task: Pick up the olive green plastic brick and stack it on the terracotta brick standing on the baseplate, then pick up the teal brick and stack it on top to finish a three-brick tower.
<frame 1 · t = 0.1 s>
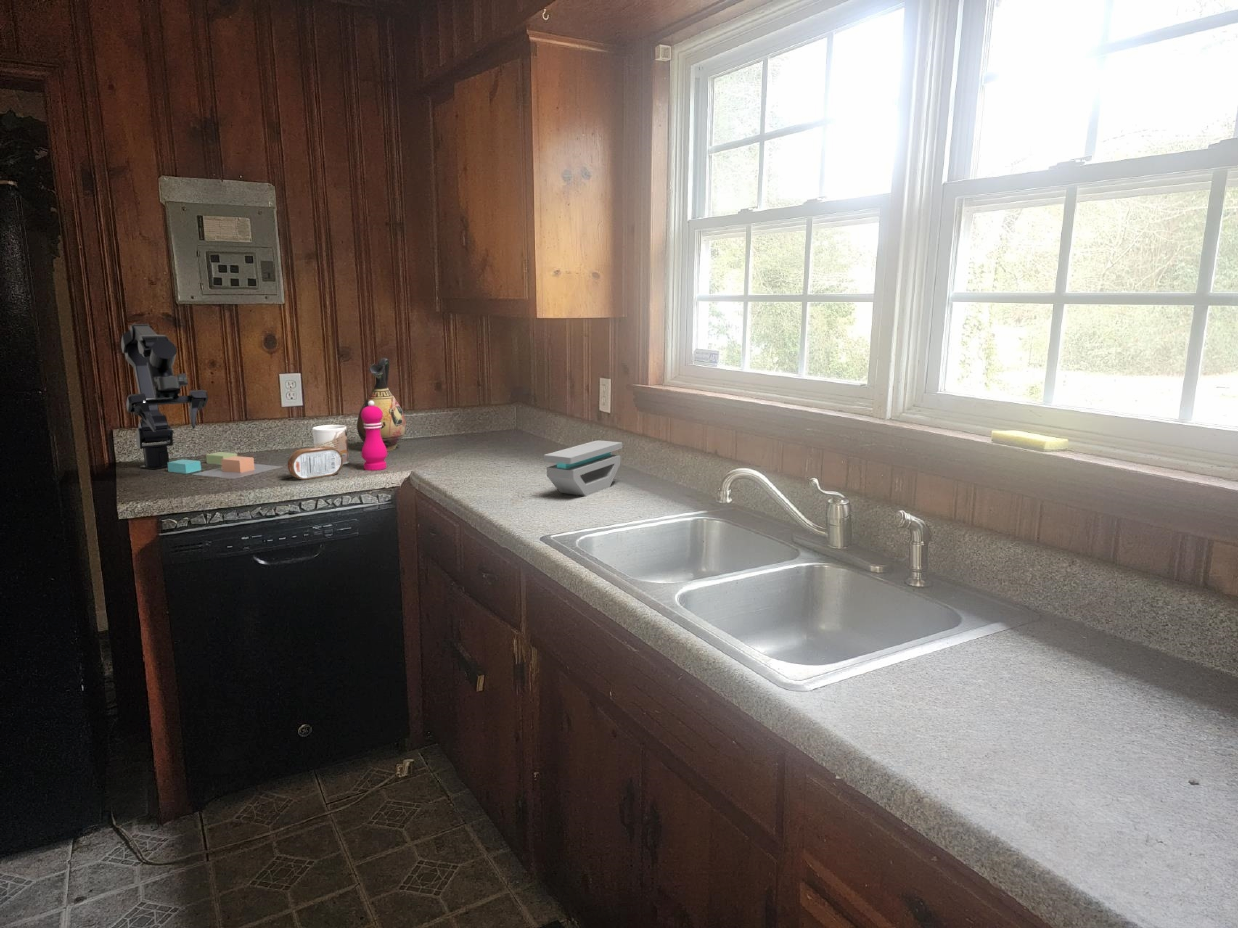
hand: (174, 429, 213), 15 cm above the worktop, tool tilted 35°, fingers open, 9 cm apart
tin: (317, 478, 224), on the worktop
pepper mill: (375, 469, 236), on the worktop
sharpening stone: (585, 490, 208), on the worktop
baseplate: (238, 472, 231), on the worktop
mug: (333, 463, 246), on the worktop
teal brick: (185, 473, 231), on the worktop
olive brick: (222, 465, 243), on the worktop
terracotta brick: (238, 470, 231), point 1 cm above the worktop, touching baseplate
ceramic jug: (383, 449, 269), on the worktop
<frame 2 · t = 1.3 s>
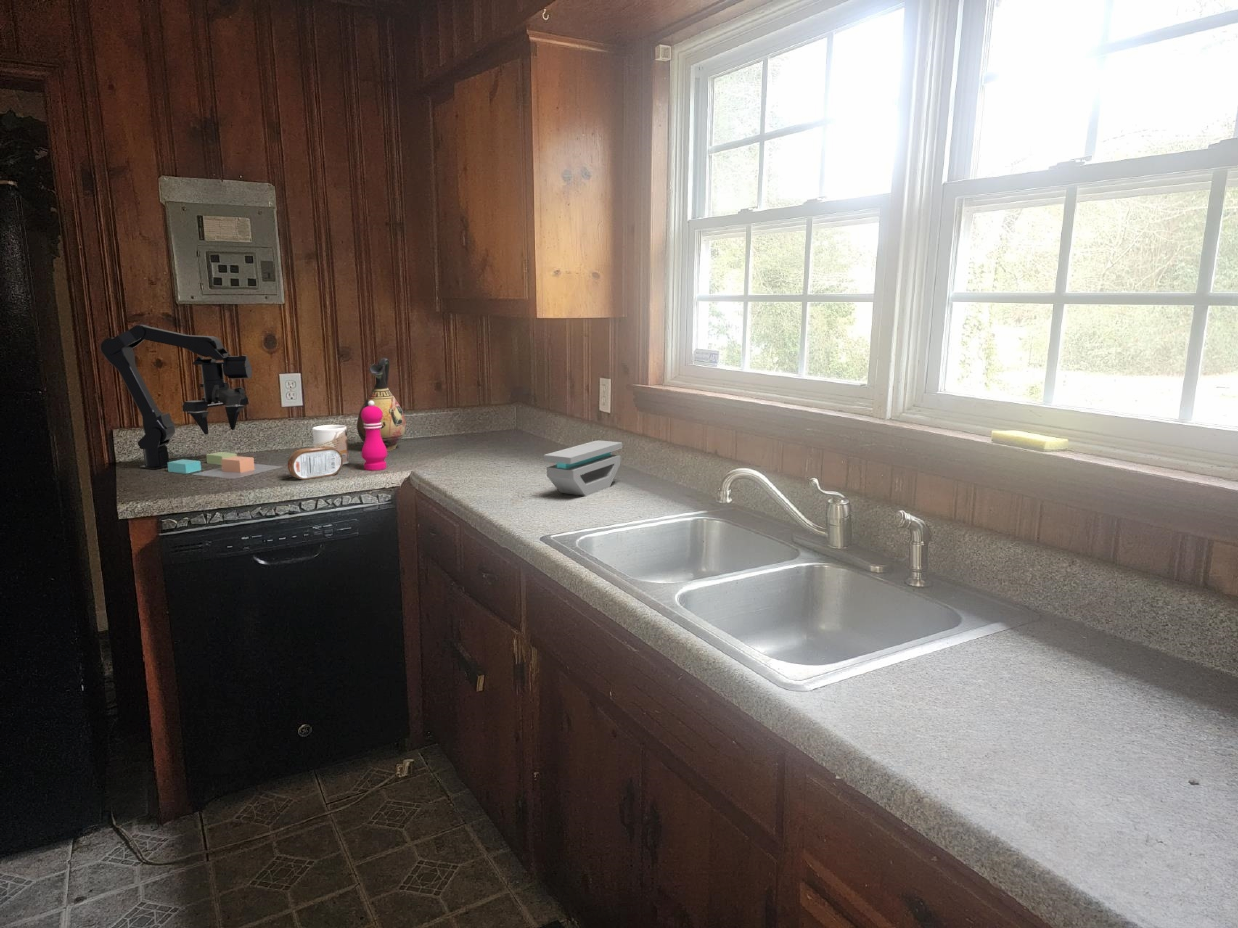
hand: (219, 432, 240), 10 cm above the worktop, tool pointing down, fingers open, 9 cm apart
nothing on the worktop moved.
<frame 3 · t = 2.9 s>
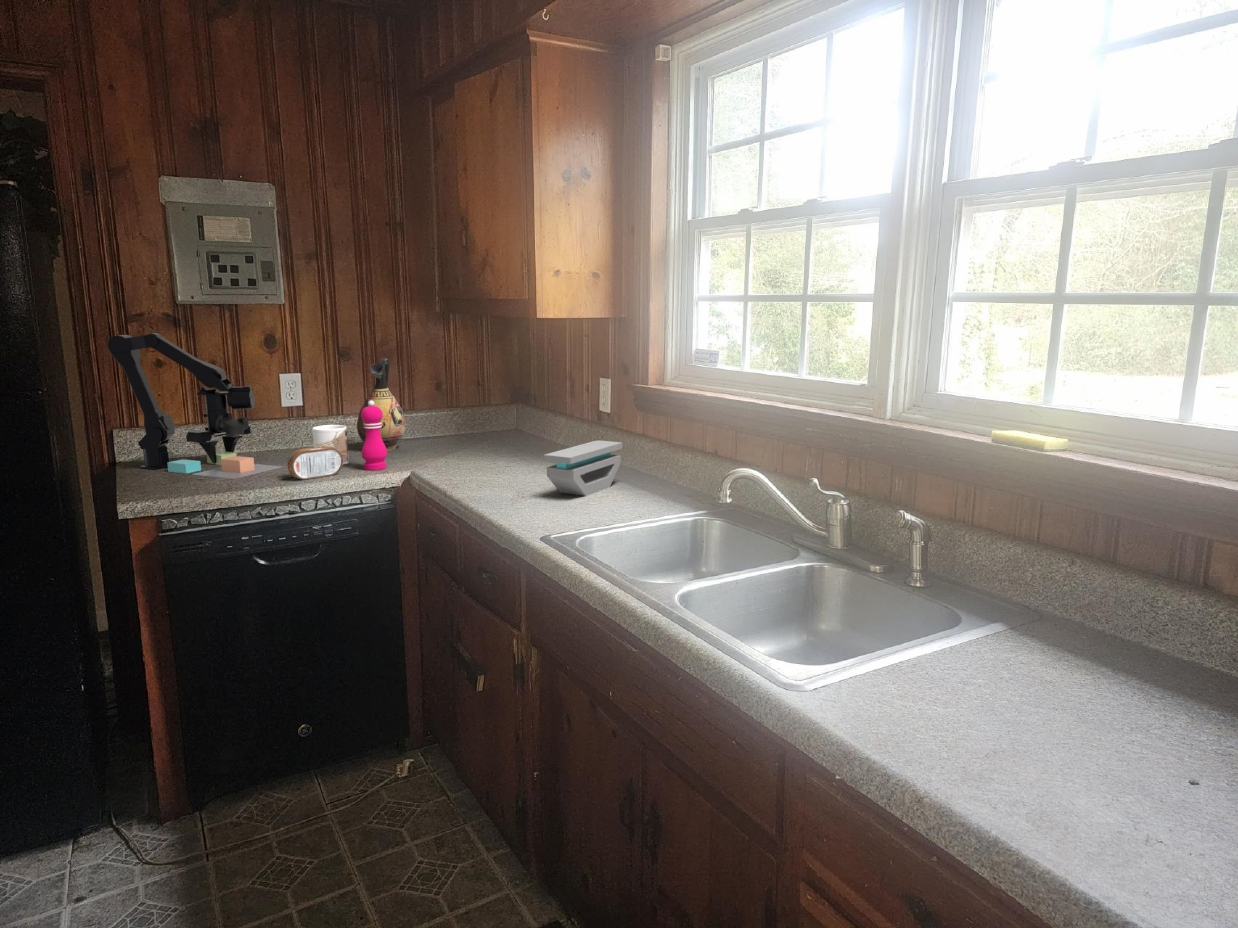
hand: (222, 461, 243), 1 cm above the worktop, tool pointing down, fingers closed on olive brick, 5 cm apart
olive brick: (222, 464, 243), on the worktop, touching gripper
everything else where it was.
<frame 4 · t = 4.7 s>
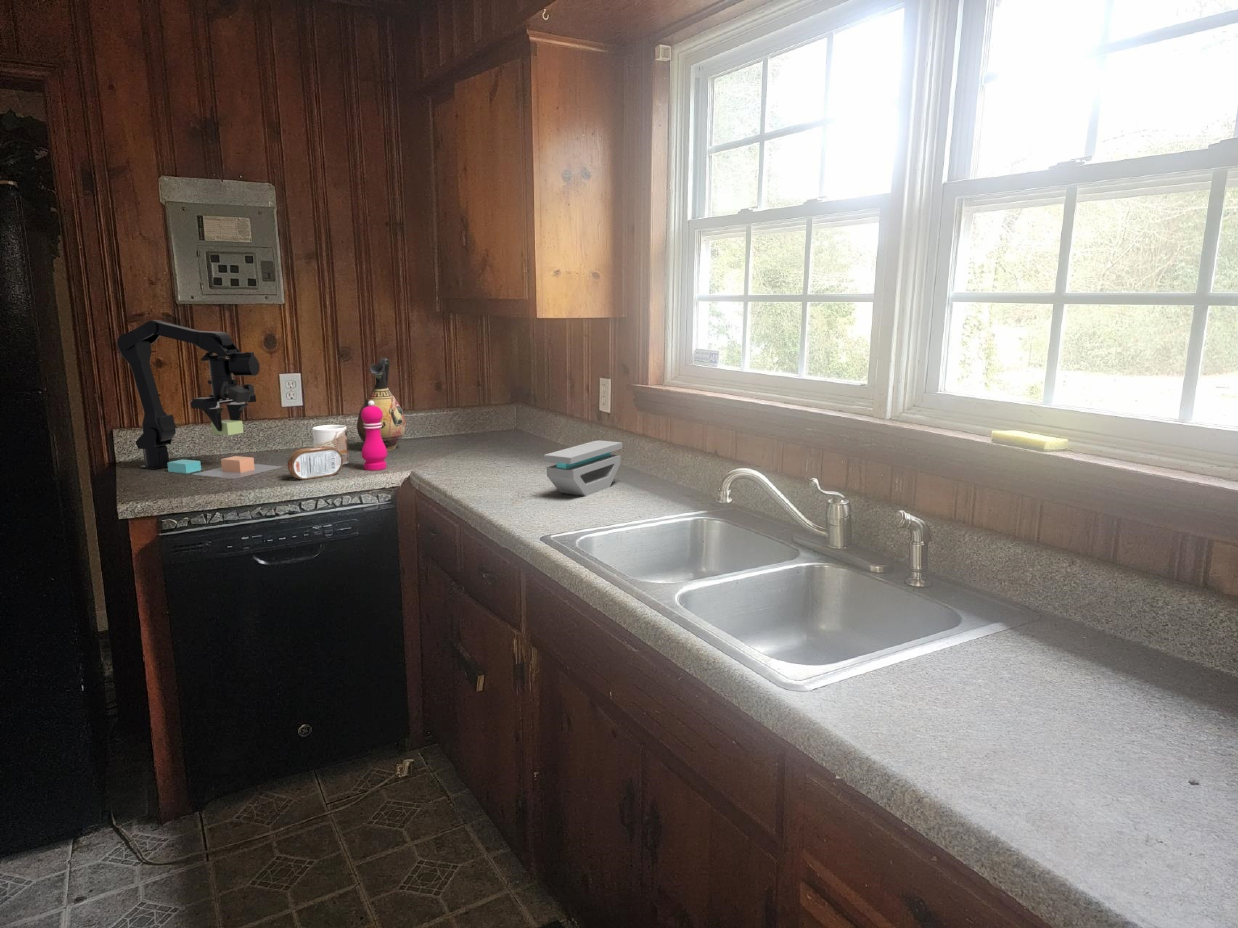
hand: (227, 429, 235), 11 cm above the worktop, tool pointing down, fingers closed on olive brick, 5 cm apart
olive brick: (228, 433, 236), point 10 cm above the worktop, touching gripper
everything else where it was.
when the fingers open (6 cm above the worktop, at t = 6.4 s): olive brick drops 1 cm, resting on terracotta brick.
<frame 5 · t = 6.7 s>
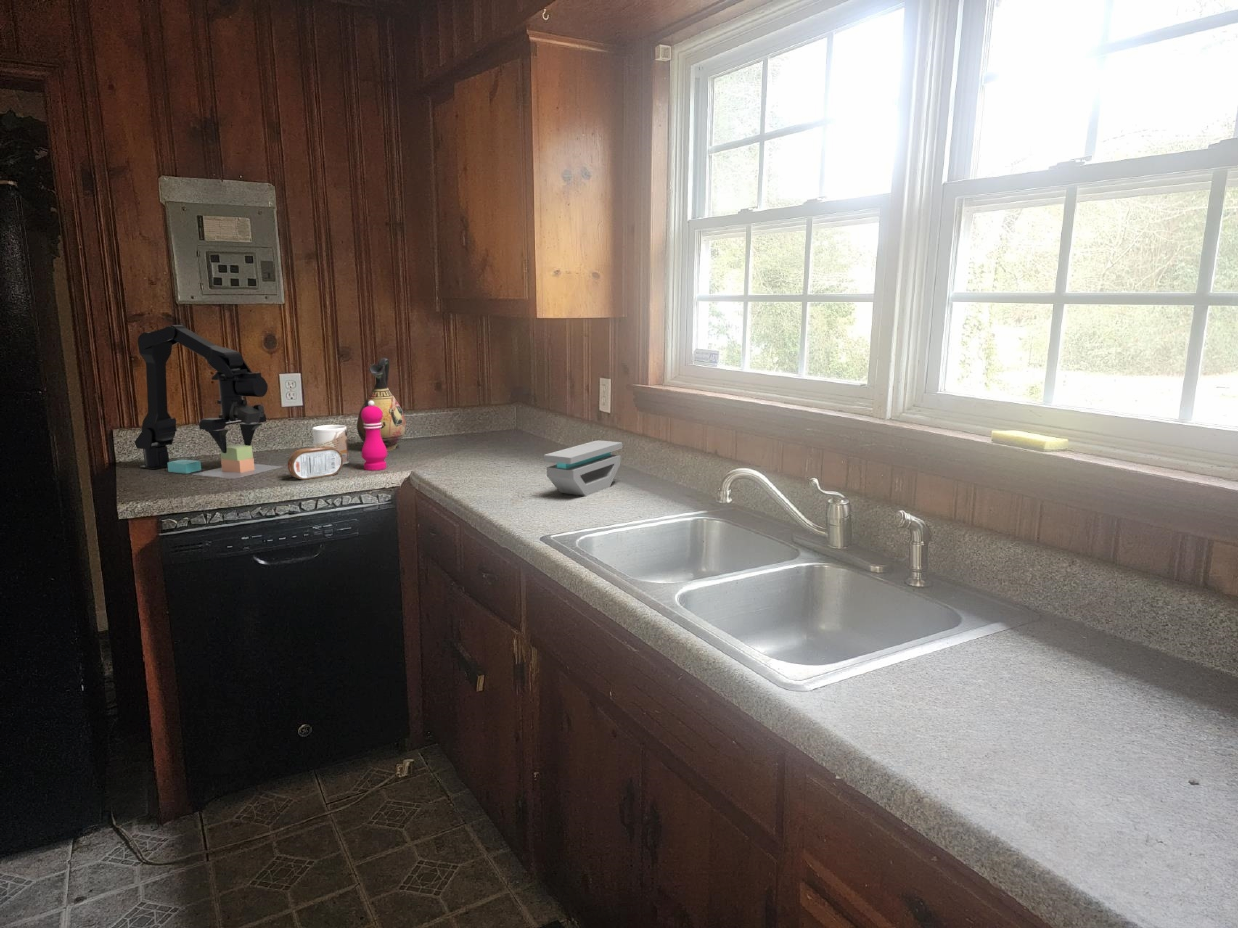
hand: (236, 450, 230), 6 cm above the worktop, tool pointing down, fingers open, 8 cm apart
olive brick: (237, 458, 231), point 4 cm above the worktop, touching terracotta brick
terracotta brick: (238, 470, 231), point 1 cm above the worktop, touching baseplate, olive brick
everything else where it was.
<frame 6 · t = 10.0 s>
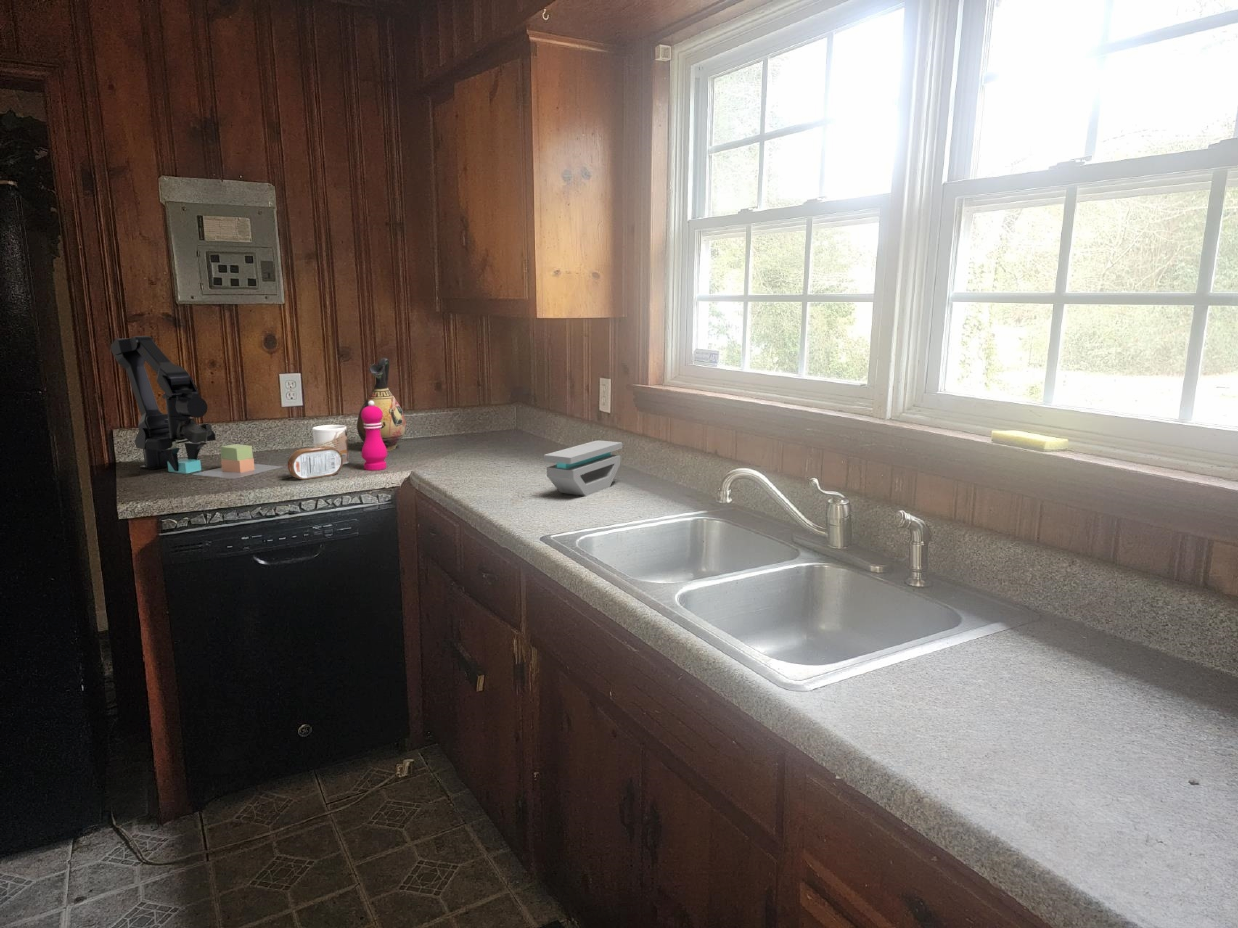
hand: (184, 469, 231), 1 cm above the worktop, tool pointing down, fingers closed on teal brick, 5 cm apart
teal brick: (185, 472, 231), on the worktop, touching gripper
everything else where it was.
when the fingers open (10 cm above the worktop, at t = 13.0 s): teal brick drops 1 cm, resting on olive brick.
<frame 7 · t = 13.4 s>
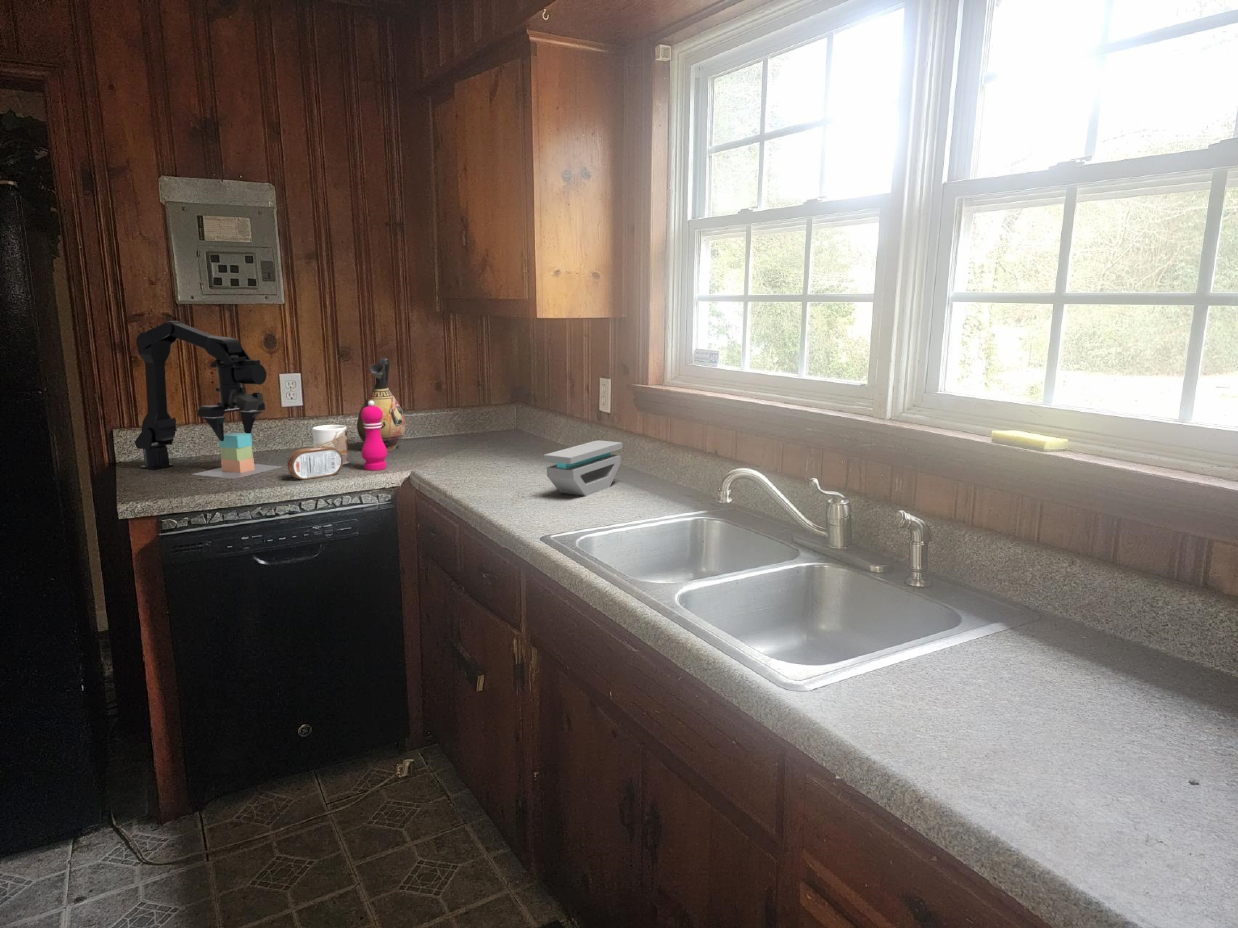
hand: (235, 438, 229), 10 cm above the worktop, tool pointing down, fingers open, 9 cm apart
teal brick: (236, 446, 230), point 8 cm above the worktop, touching olive brick
olive brick: (237, 458, 231), point 4 cm above the worktop, touching teal brick, terracotta brick
everything else where it was.
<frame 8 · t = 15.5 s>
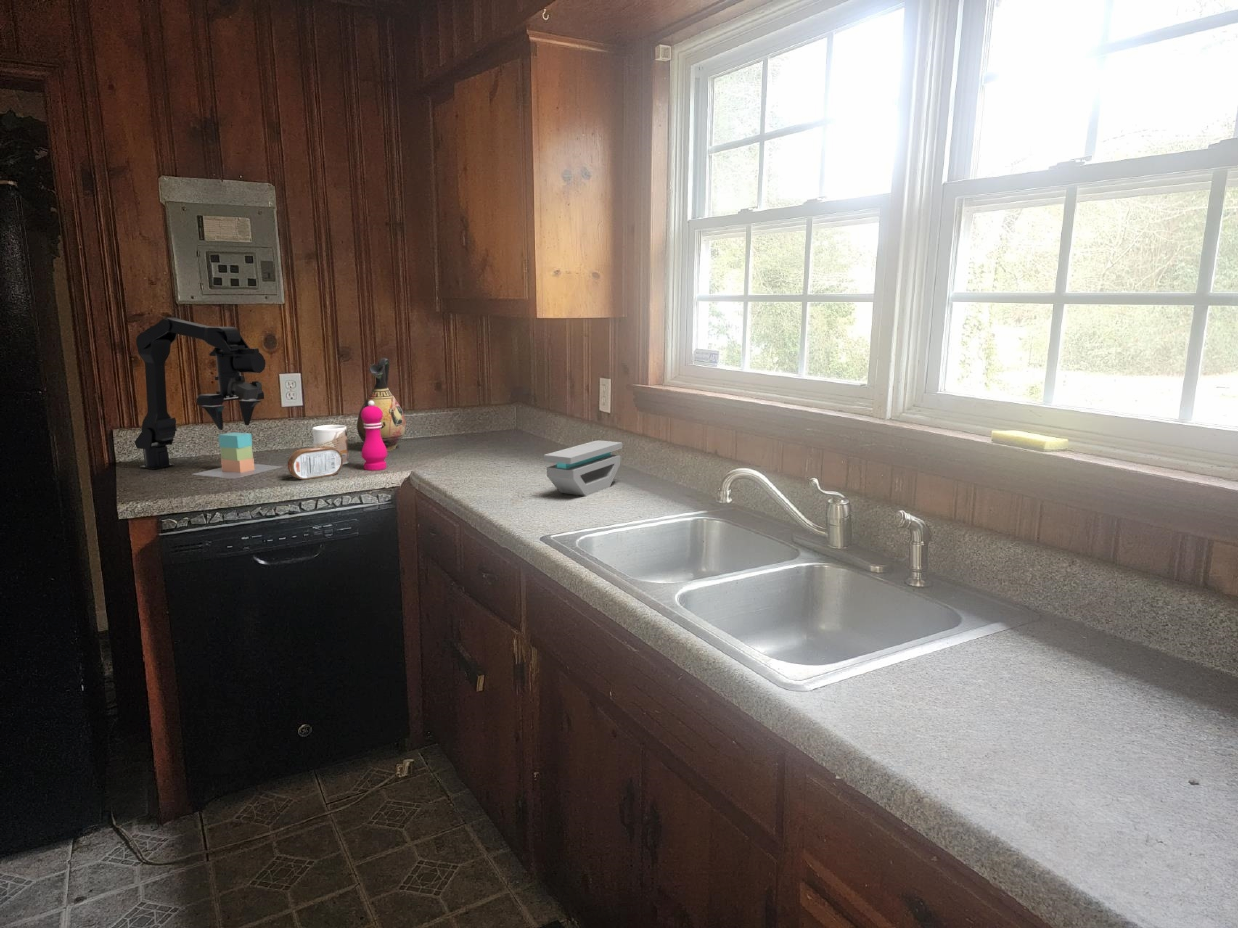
hand: (234, 427, 229), 13 cm above the worktop, tool pointing down, fingers open, 9 cm apart
nothing on the worktop moved.
at the end: olive brick 0.0 cm off-centre on the terracotta brick, point 3.5 cm above the terracotta brick's base; teal brick 0.0 cm off-centre on the terracotta brick, point 7.0 cm above the terracotta brick's base; teal brick tilted 0° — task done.
